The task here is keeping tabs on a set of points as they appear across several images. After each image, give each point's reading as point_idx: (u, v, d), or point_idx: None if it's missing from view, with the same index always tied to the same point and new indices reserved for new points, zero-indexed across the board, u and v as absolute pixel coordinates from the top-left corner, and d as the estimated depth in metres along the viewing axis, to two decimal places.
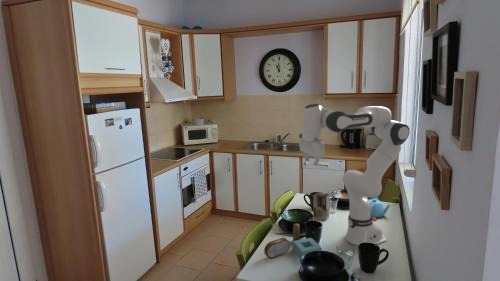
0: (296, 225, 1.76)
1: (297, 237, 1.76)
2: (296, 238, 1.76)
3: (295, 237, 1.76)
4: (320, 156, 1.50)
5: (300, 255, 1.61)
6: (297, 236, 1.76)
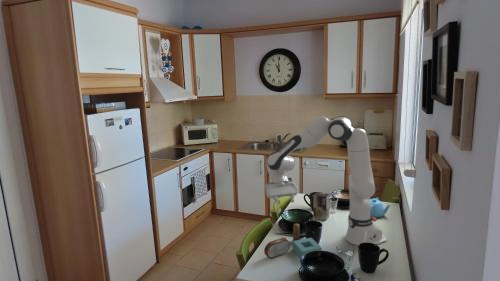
0: (296, 225, 1.76)
1: (297, 237, 1.76)
2: (296, 238, 1.76)
3: (295, 237, 1.76)
4: (267, 195, 1.82)
5: (300, 255, 1.61)
6: (297, 236, 1.76)
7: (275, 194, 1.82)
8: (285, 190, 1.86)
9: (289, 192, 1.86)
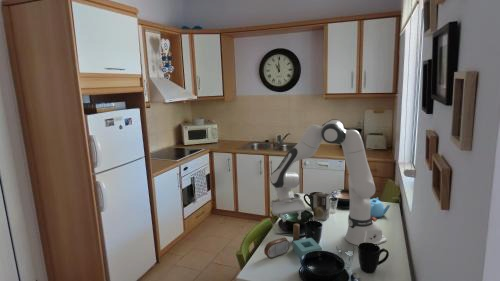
0: (296, 225, 1.76)
1: (297, 237, 1.76)
2: (296, 238, 1.76)
3: (295, 237, 1.76)
4: (273, 213, 1.82)
5: (300, 255, 1.61)
6: (297, 236, 1.76)
7: (280, 212, 1.81)
8: (291, 207, 1.84)
9: (295, 209, 1.84)
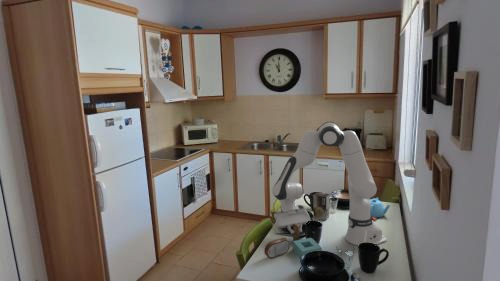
0: (296, 225, 1.76)
1: (297, 237, 1.76)
2: (296, 238, 1.76)
3: (295, 237, 1.76)
4: (277, 226, 1.77)
5: (300, 255, 1.61)
6: (297, 236, 1.76)
7: (285, 224, 1.76)
8: (296, 219, 1.79)
9: (300, 221, 1.79)
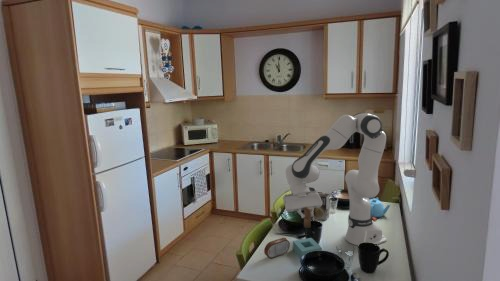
0: (307, 208, 1.61)
1: (308, 221, 1.61)
2: (307, 223, 1.61)
3: (306, 221, 1.61)
4: (286, 209, 1.62)
5: (300, 255, 1.61)
6: (308, 220, 1.61)
7: (295, 207, 1.61)
8: (307, 202, 1.64)
9: (311, 205, 1.64)
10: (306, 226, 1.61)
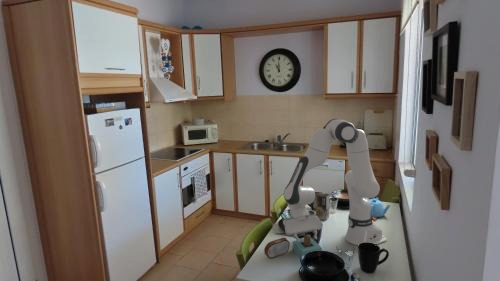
0: (307, 236, 1.63)
1: None
2: None
3: None
4: (286, 233, 1.65)
5: (300, 255, 1.61)
6: None
7: (295, 231, 1.64)
8: (306, 226, 1.67)
9: (311, 228, 1.66)
10: None
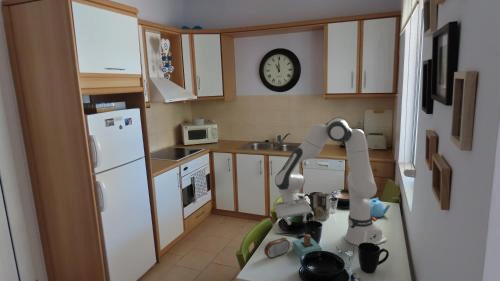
0: (307, 236, 1.63)
1: None
2: None
3: None
4: (277, 216, 1.78)
5: (300, 255, 1.61)
6: None
7: (285, 214, 1.77)
8: (296, 209, 1.80)
9: (300, 211, 1.80)
10: None
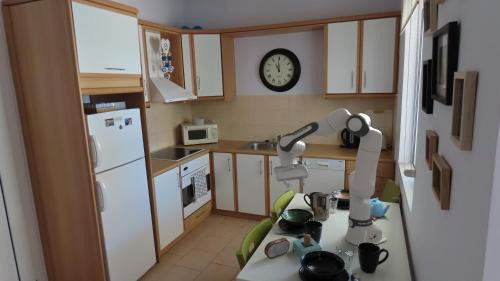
0: (307, 236, 1.63)
1: None
2: None
3: None
4: (276, 179, 1.83)
5: (300, 255, 1.61)
6: None
7: (284, 177, 1.82)
8: (295, 173, 1.85)
9: (299, 175, 1.85)
10: None
